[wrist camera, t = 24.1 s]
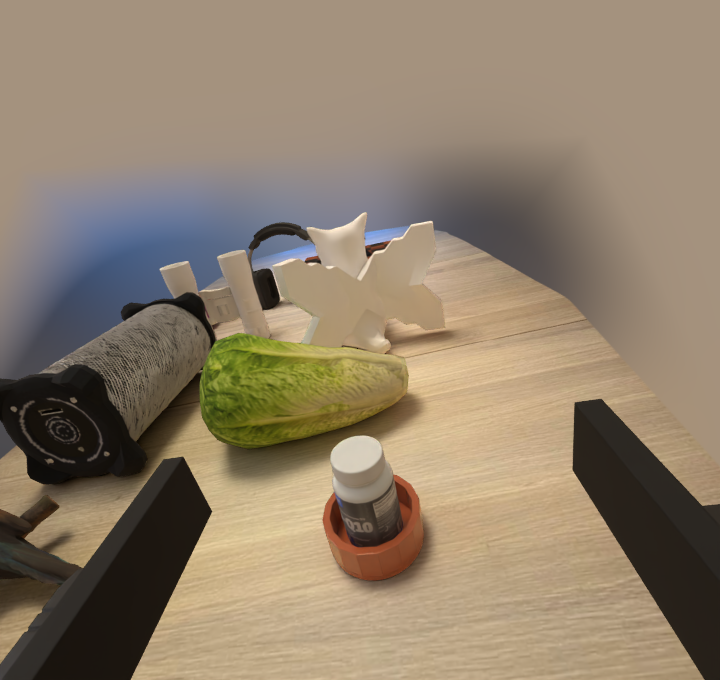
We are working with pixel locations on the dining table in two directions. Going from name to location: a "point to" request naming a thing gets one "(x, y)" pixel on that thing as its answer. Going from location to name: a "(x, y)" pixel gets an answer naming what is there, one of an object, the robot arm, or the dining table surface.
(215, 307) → the binoculars
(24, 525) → the bird figurine
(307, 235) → the headphones
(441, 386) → the dining table surface
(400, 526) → the pill bottle
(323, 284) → the white abstract sculpture
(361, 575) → the orange cup holder
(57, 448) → the speaker
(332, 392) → the lettuce
